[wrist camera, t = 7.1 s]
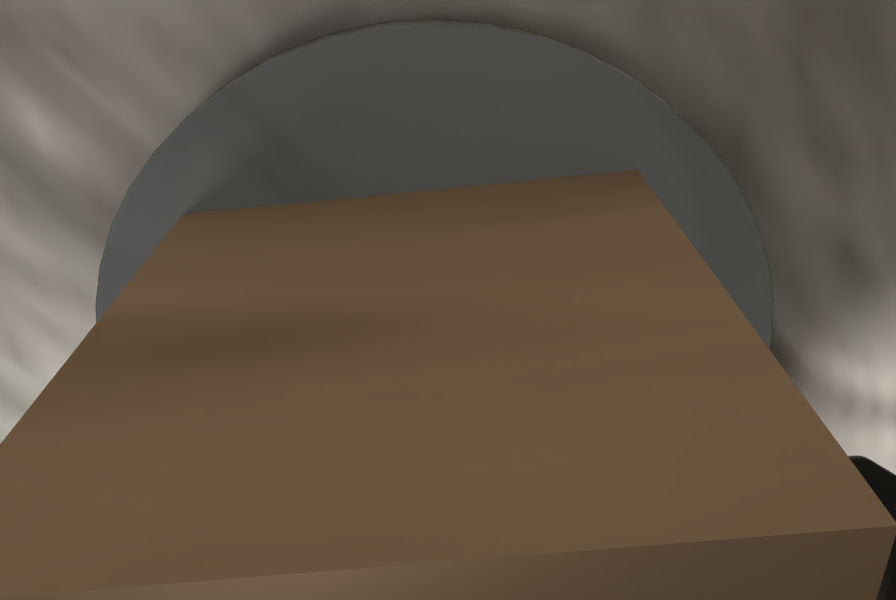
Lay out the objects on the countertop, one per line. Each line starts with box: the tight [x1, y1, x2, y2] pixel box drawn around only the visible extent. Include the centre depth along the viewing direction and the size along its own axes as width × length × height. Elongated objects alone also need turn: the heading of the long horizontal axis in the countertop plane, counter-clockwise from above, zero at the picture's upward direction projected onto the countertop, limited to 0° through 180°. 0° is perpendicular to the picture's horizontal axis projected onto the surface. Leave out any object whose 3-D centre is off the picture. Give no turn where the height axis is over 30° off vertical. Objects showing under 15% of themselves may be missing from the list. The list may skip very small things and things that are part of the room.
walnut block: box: [0, 170, 896, 600], centre depth 8 cm, size 6×6×6 cm
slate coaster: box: [96, 20, 773, 350], centre depth 11 cm, size 10×10×1 cm
